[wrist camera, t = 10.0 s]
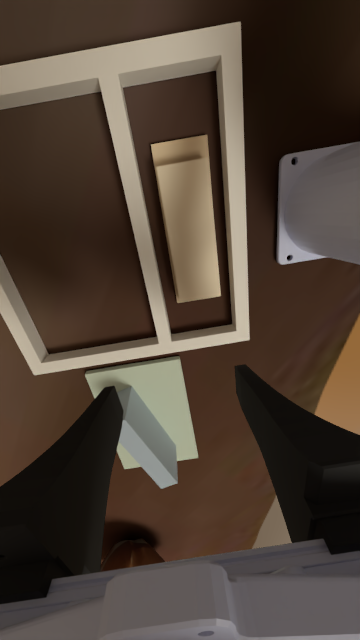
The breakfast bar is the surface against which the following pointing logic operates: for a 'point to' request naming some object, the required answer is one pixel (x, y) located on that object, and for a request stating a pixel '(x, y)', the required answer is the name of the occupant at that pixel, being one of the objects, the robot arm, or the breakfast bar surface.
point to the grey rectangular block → (147, 439)
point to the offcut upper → (190, 227)
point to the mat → (153, 399)
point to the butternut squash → (130, 555)
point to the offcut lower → (176, 154)
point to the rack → (109, 78)
